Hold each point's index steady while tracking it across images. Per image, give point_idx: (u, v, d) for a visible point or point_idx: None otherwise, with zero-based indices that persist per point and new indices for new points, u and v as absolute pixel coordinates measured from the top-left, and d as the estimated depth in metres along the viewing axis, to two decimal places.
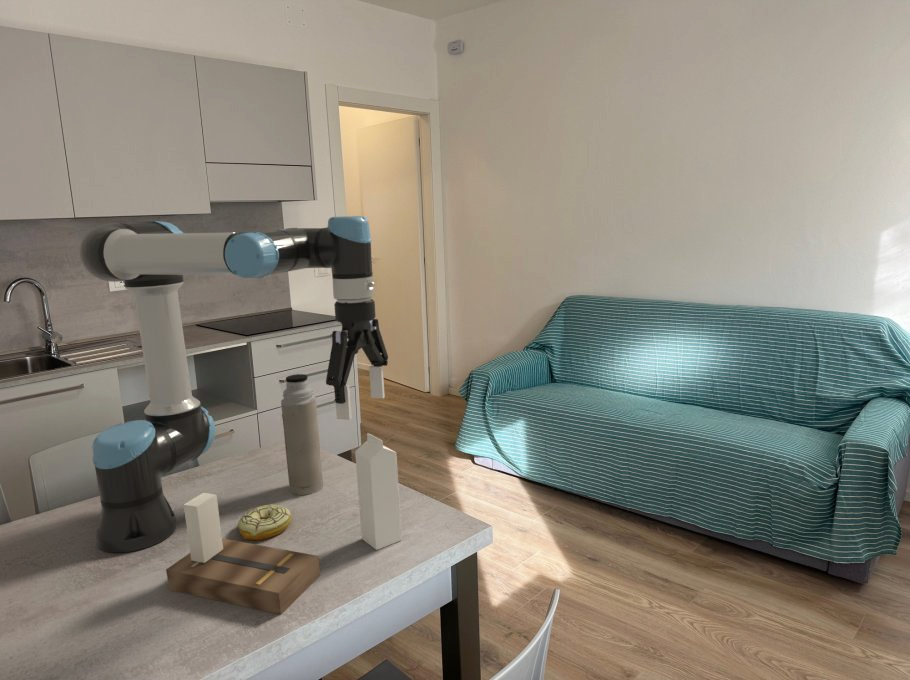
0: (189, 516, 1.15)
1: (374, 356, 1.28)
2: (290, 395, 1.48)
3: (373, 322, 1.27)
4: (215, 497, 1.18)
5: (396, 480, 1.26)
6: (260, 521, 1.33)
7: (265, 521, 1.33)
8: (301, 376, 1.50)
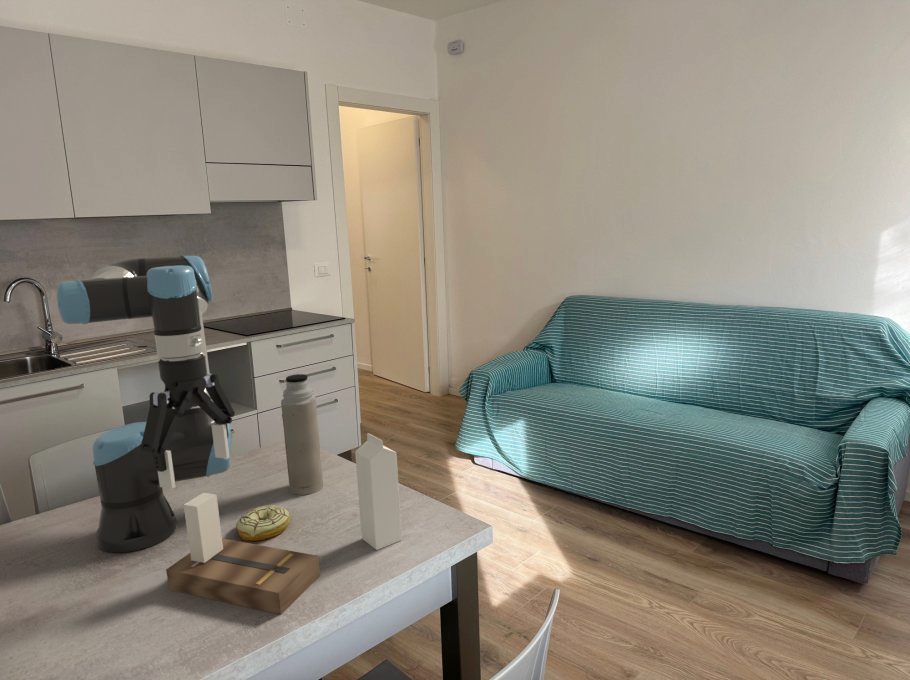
0: (189, 516, 1.15)
1: (214, 413, 1.18)
2: (290, 395, 1.48)
3: (211, 378, 1.17)
4: (215, 497, 1.18)
5: (396, 480, 1.26)
6: (259, 522, 1.32)
7: (263, 522, 1.32)
8: (301, 376, 1.50)
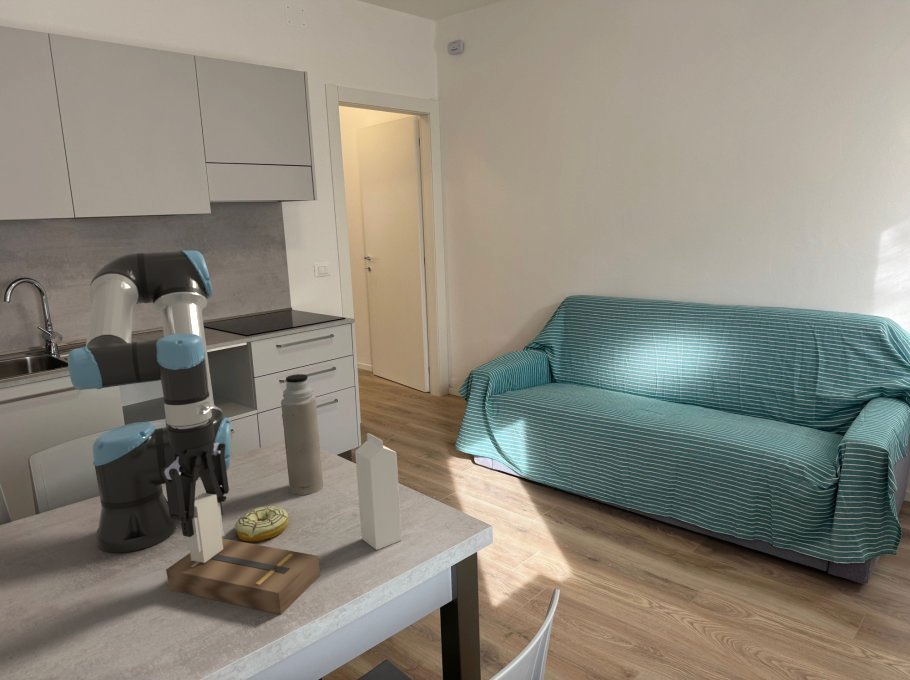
0: None
1: (211, 486, 1.18)
2: (290, 395, 1.48)
3: (219, 446, 1.20)
4: (215, 497, 1.18)
5: (396, 480, 1.26)
6: (257, 522, 1.32)
7: (262, 523, 1.32)
8: (301, 376, 1.50)
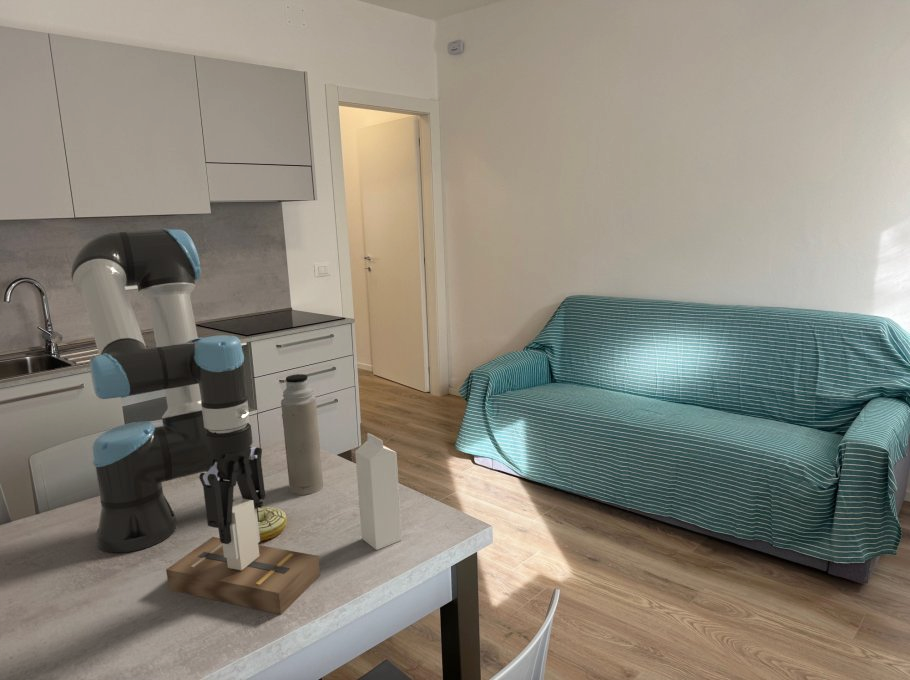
0: None
1: (248, 492, 1.15)
2: (290, 395, 1.48)
3: (255, 450, 1.17)
4: (252, 503, 1.15)
5: (396, 480, 1.26)
6: None
7: (260, 524, 1.31)
8: (301, 376, 1.50)
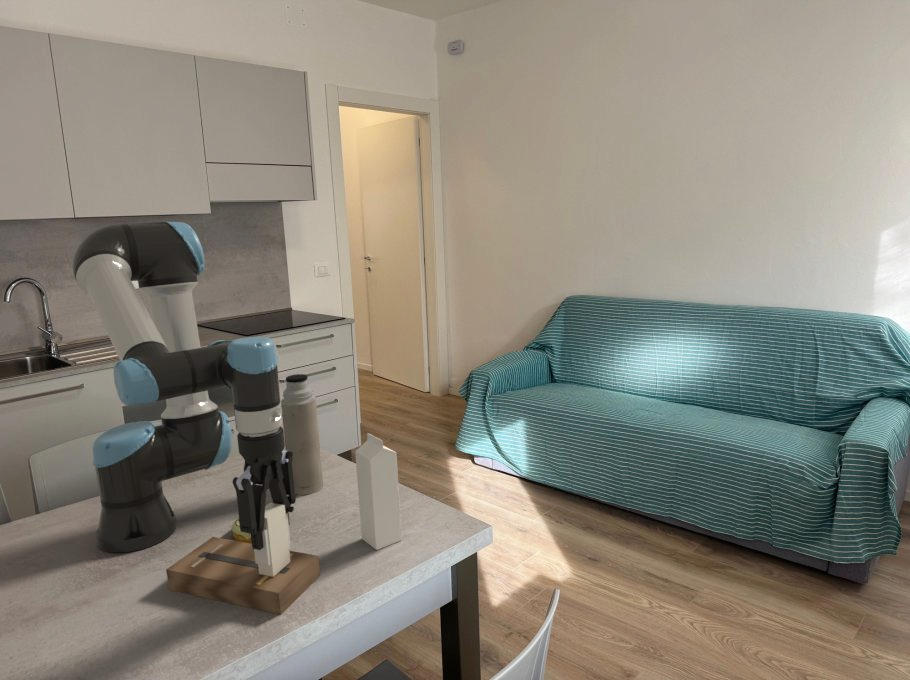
0: None
1: (279, 496, 1.13)
2: (290, 395, 1.48)
3: (286, 454, 1.14)
4: (283, 507, 1.13)
5: (396, 480, 1.26)
6: None
7: None
8: (301, 376, 1.50)
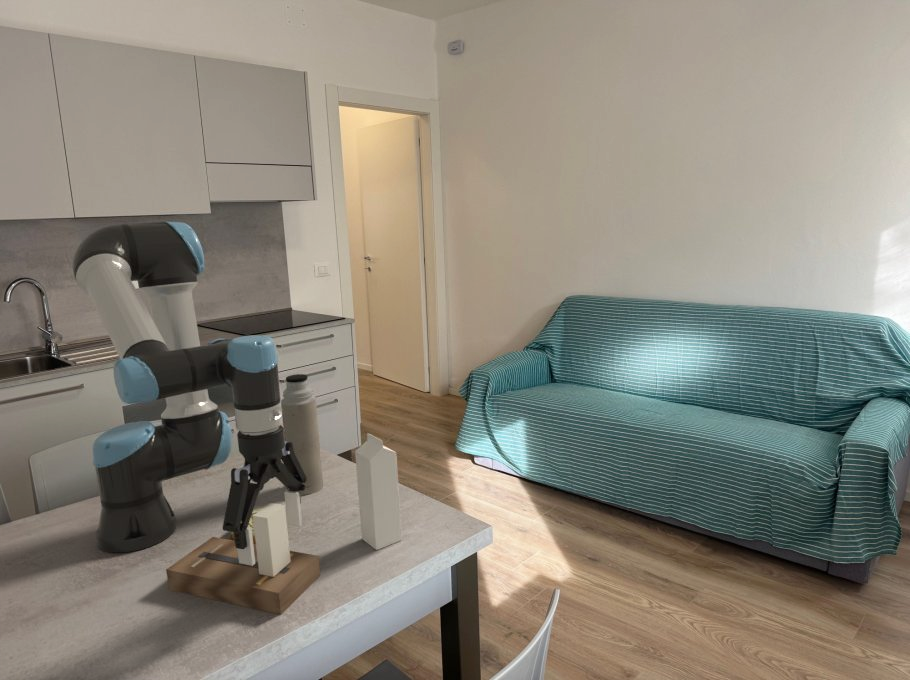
0: (259, 528, 1.10)
1: (288, 482, 1.15)
2: (290, 395, 1.48)
3: (286, 446, 1.14)
4: (284, 507, 1.13)
5: (396, 480, 1.26)
6: (252, 525, 1.31)
7: None
8: (301, 376, 1.50)
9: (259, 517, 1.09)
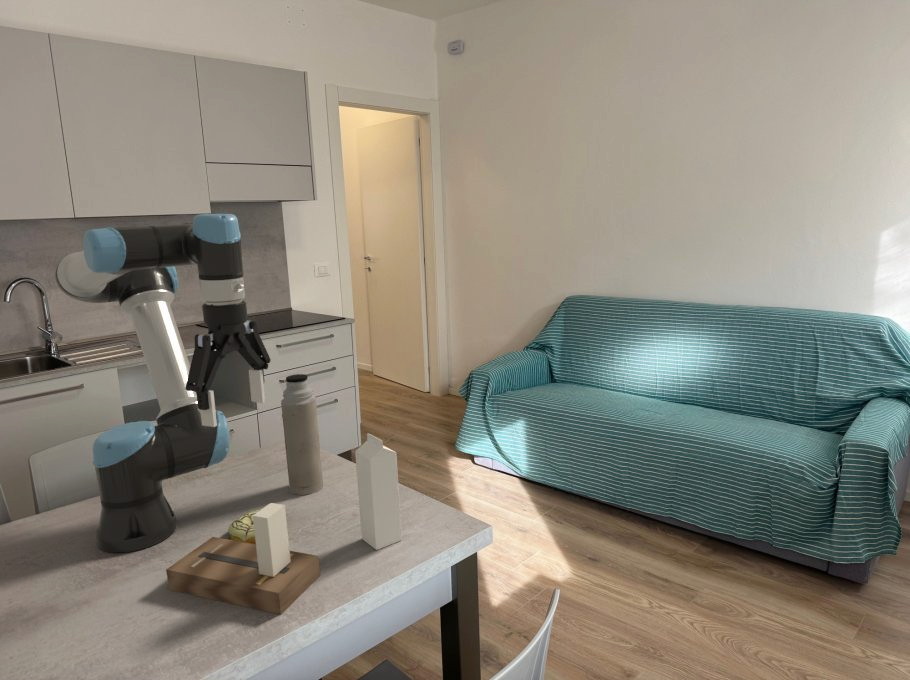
0: (259, 528, 1.10)
1: (252, 359, 1.23)
2: (290, 395, 1.48)
3: (250, 324, 1.22)
4: (284, 507, 1.13)
5: (396, 480, 1.26)
6: (251, 526, 1.31)
7: None
8: (301, 376, 1.50)
9: (259, 517, 1.09)
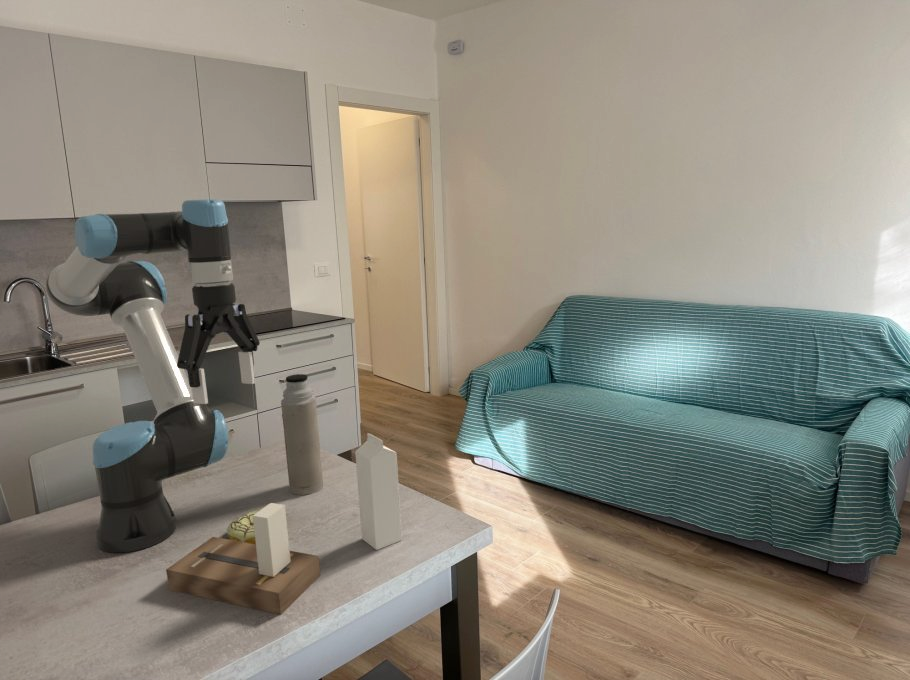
0: (259, 528, 1.10)
1: (241, 341, 1.27)
2: (290, 395, 1.48)
3: (239, 307, 1.26)
4: (284, 507, 1.13)
5: (396, 480, 1.26)
6: (249, 527, 1.30)
7: None
8: (301, 376, 1.50)
9: (259, 517, 1.09)
